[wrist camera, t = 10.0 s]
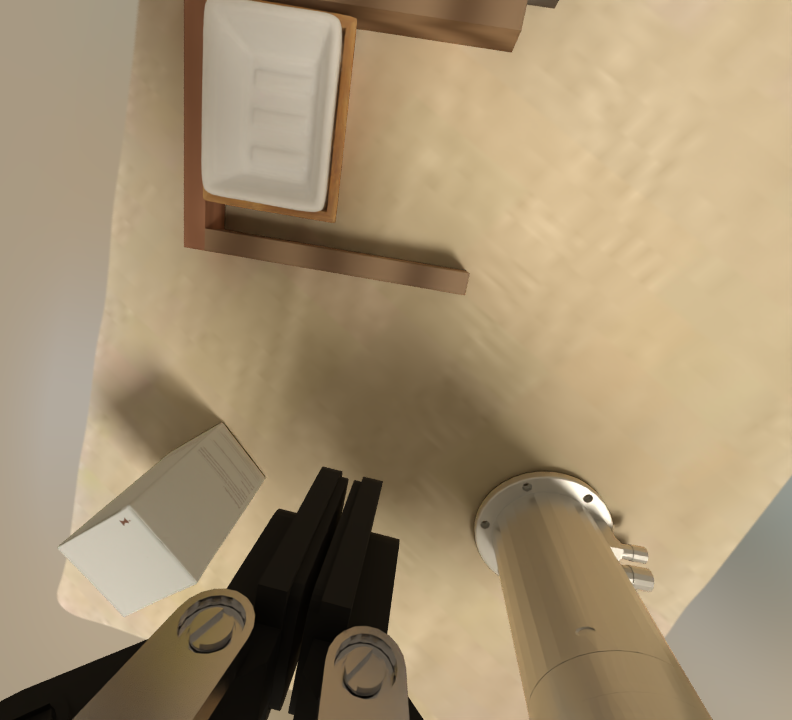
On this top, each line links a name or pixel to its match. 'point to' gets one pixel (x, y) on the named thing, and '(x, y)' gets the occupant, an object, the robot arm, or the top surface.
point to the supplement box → (166, 522)
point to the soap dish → (275, 106)
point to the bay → (374, 10)
